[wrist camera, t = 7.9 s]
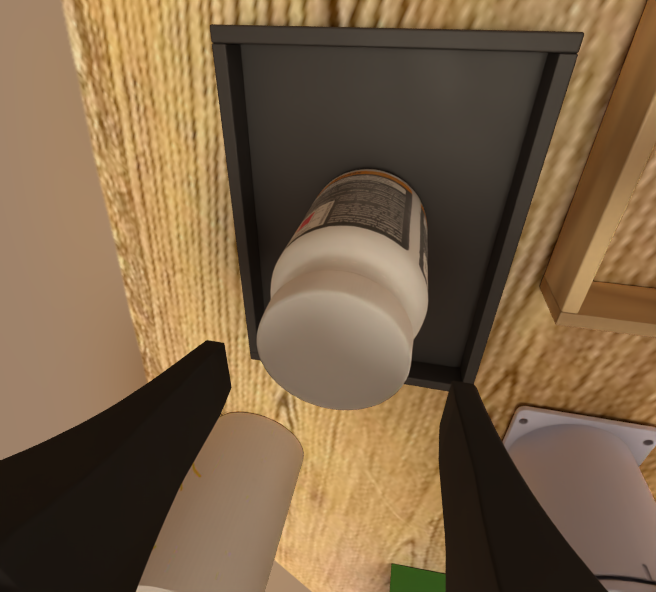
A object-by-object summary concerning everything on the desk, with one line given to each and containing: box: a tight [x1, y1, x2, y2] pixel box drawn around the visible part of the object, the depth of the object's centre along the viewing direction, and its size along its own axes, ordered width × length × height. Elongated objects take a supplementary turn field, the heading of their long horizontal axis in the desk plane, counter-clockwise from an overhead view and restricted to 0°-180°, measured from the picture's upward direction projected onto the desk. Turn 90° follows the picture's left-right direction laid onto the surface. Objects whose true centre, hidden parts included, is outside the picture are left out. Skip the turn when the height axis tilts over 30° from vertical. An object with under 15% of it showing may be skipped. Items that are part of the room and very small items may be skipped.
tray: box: [210, 24, 584, 391], centre depth 20 cm, size 17×13×2 cm
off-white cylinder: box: [136, 412, 304, 592], centre depth 28 cm, size 8×8×12 cm
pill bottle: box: [257, 169, 428, 410], centre depth 16 cm, size 6×6×10 cm
